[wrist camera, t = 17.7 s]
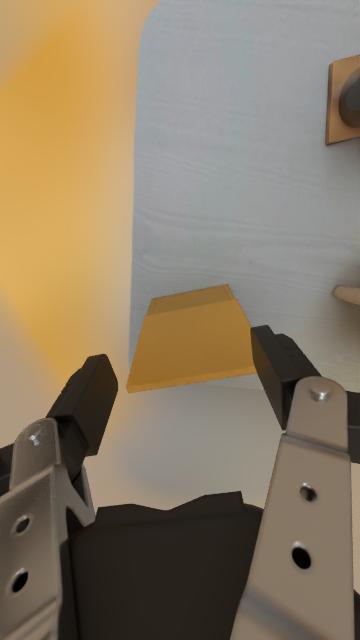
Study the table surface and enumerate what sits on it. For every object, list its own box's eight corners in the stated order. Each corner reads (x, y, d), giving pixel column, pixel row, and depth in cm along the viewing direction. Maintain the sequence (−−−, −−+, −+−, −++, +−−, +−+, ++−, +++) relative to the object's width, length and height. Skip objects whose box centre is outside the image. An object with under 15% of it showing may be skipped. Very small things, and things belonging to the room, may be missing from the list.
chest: (235, 348, 44) (244, 372, 38) (168, 359, 45) (166, 385, 39) (227, 284, 38) (236, 300, 32) (151, 298, 40) (146, 316, 34)
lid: (271, 371, 20) (270, 363, 20) (128, 393, 22) (125, 387, 21) (237, 303, 32) (236, 298, 32) (146, 320, 33) (144, 315, 33)
